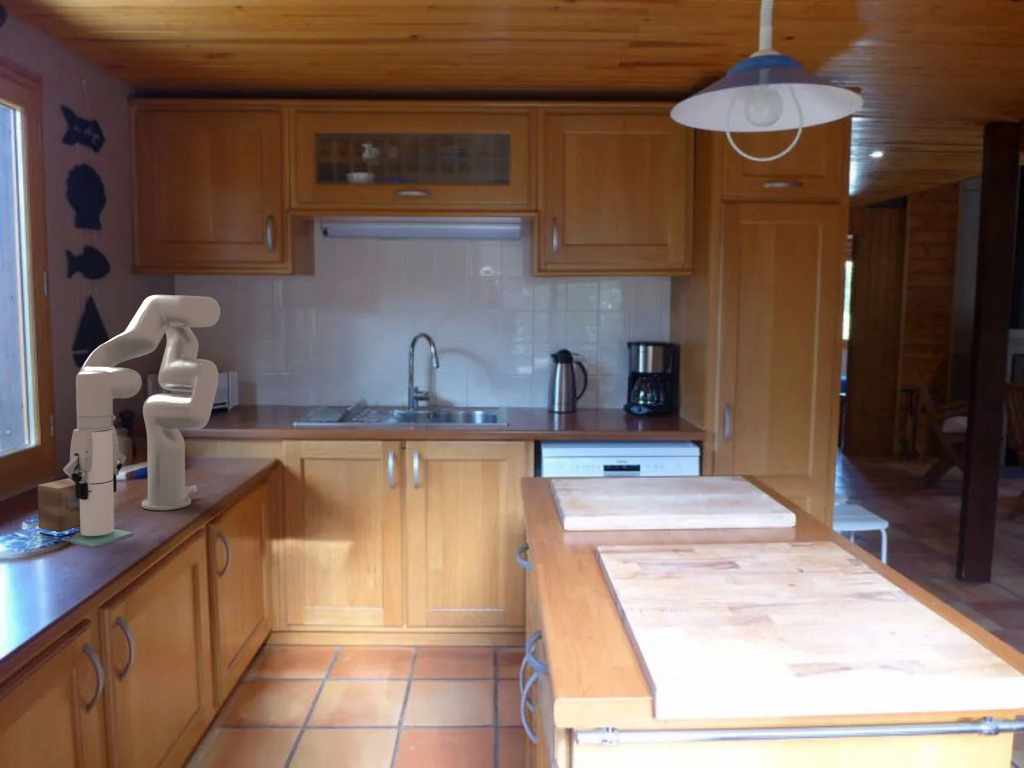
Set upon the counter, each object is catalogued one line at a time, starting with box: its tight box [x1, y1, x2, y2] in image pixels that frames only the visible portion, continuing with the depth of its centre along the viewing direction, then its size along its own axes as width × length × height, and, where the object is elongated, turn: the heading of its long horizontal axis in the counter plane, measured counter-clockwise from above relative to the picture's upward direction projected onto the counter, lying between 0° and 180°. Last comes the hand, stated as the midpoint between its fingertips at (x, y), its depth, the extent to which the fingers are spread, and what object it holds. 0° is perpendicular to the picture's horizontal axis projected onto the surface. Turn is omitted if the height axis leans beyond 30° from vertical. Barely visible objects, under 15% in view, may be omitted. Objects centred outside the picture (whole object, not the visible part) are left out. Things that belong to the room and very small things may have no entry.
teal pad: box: [69, 528, 134, 549], centre depth 179 cm, size 11×11×1 cm
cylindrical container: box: [79, 429, 115, 536], centre depth 177 cm, size 7×7×25 cm
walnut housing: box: [37, 477, 80, 532], centre depth 184 cm, size 12×8×12 cm, turn 159°
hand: (96, 494), depth 178 cm, fingers closed on cylindrical container, 7 cm apart
